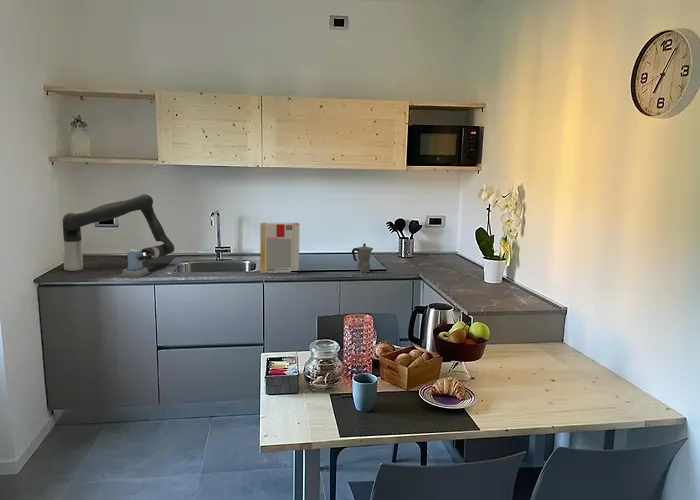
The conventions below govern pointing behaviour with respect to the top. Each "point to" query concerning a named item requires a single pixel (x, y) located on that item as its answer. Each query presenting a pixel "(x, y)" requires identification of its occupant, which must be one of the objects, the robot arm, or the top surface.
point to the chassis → (135, 273)
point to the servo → (134, 260)
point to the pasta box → (279, 247)
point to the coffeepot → (363, 257)
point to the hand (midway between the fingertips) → (132, 258)
